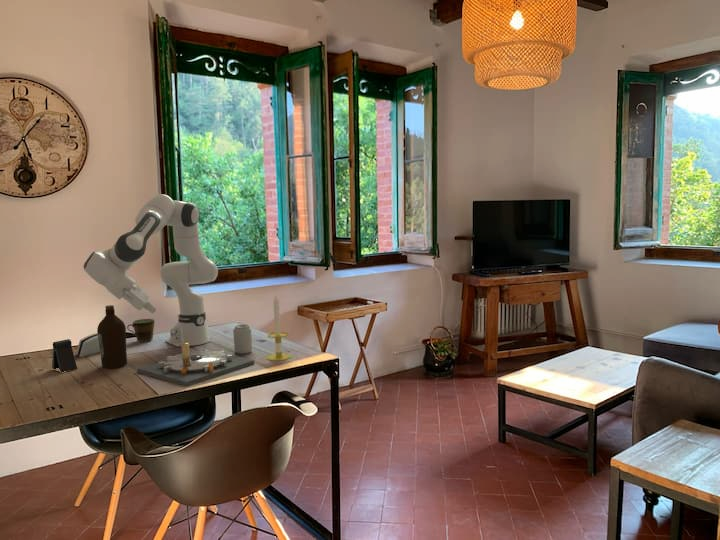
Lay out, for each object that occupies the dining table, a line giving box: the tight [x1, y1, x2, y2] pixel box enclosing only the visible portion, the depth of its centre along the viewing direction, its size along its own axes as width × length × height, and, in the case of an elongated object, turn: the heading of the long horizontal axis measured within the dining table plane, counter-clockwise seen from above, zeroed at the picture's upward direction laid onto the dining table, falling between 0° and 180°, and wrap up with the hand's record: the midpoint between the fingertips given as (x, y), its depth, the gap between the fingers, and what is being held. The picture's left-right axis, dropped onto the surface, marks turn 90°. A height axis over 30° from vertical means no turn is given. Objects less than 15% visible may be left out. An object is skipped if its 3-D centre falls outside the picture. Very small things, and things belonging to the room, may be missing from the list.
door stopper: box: [51, 339, 78, 372], centre depth 222 cm, size 9×6×12 cm, turn 52°
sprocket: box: [158, 342, 233, 374], centre depth 217 cm, size 27×28×11 cm
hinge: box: [74, 332, 100, 358], centre depth 248 cm, size 17×5×10 cm, turn 152°
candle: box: [266, 295, 292, 362], centre depth 228 cm, size 10×10×27 cm
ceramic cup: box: [126, 318, 155, 343], centre depth 266 cm, size 13×10×10 cm
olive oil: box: [96, 304, 128, 370], centre depth 224 cm, size 11×11×25 cm
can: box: [233, 323, 253, 355], centre depth 239 cm, size 8×8×12 cm
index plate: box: [136, 349, 255, 387], centre depth 218 cm, size 32×32×6 cm
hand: (154, 311), depth 204 cm, fingers closed
